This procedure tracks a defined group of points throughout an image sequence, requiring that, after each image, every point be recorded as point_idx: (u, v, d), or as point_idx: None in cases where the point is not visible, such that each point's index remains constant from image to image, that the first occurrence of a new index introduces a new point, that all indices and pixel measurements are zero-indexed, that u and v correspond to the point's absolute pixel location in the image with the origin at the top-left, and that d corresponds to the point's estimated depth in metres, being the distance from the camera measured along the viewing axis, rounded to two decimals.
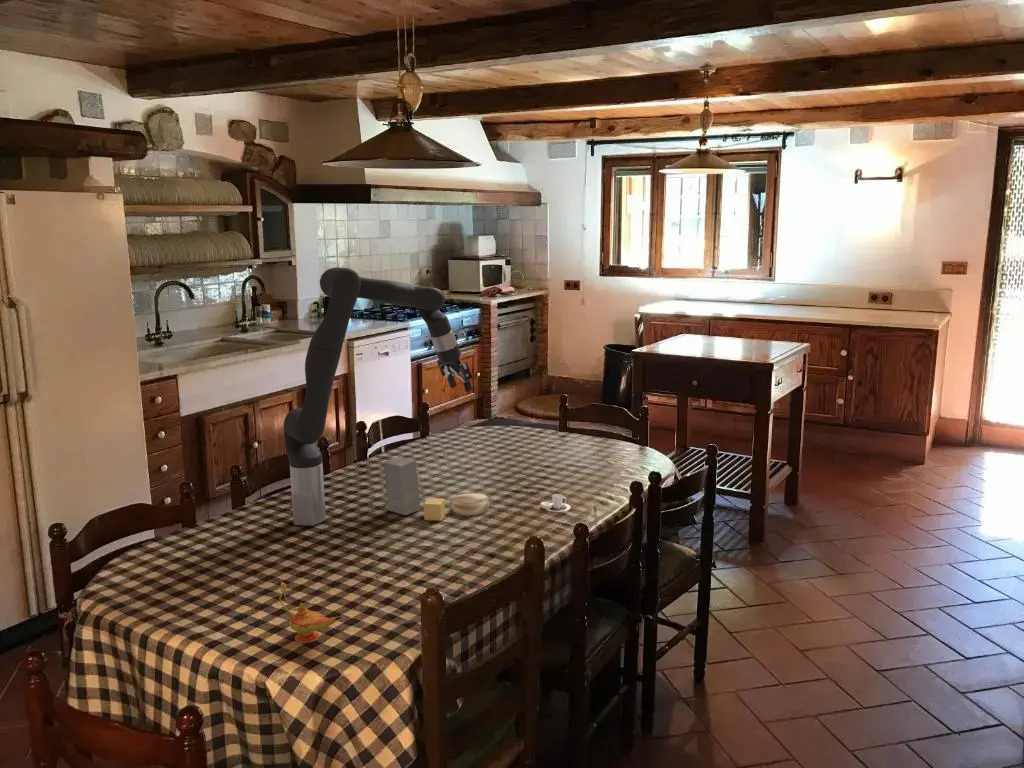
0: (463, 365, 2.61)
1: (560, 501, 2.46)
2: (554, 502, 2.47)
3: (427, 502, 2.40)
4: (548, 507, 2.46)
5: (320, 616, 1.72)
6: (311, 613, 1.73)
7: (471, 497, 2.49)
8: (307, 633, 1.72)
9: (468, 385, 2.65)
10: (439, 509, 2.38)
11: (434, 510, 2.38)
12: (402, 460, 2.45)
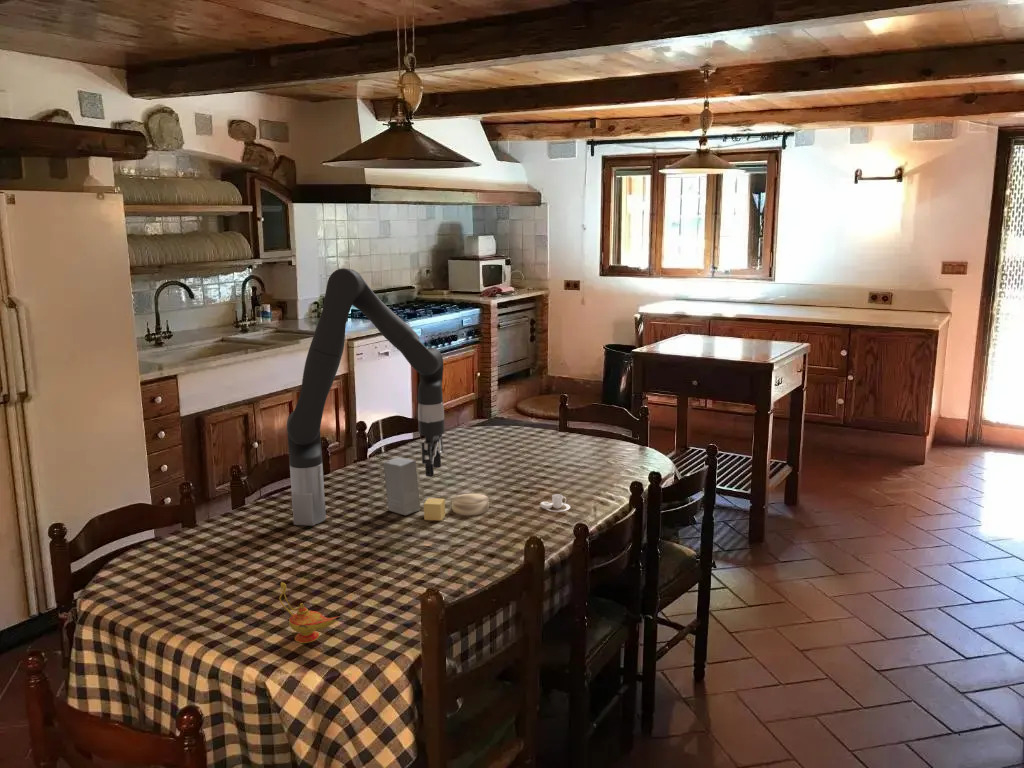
0: (424, 445, 2.31)
1: (560, 501, 2.47)
2: (554, 502, 2.47)
3: (427, 502, 2.40)
4: (548, 507, 2.46)
5: (320, 616, 1.72)
6: (311, 613, 1.73)
7: (471, 497, 2.49)
8: (307, 633, 1.72)
9: (427, 469, 2.33)
10: (439, 509, 2.38)
11: (434, 510, 2.38)
12: (402, 460, 2.45)
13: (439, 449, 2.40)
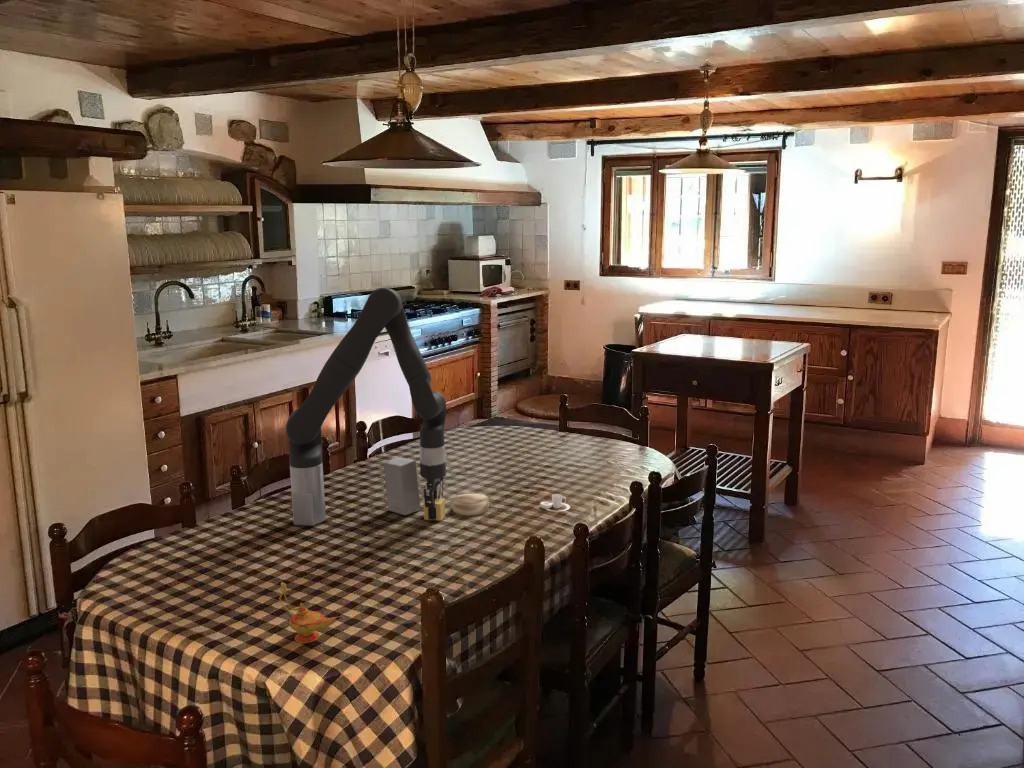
0: (426, 491, 2.33)
1: (560, 501, 2.47)
2: (554, 502, 2.47)
3: None
4: (548, 507, 2.47)
5: (320, 616, 1.72)
6: (311, 613, 1.73)
7: (471, 497, 2.49)
8: (307, 633, 1.72)
9: (430, 512, 2.37)
10: (439, 509, 2.38)
11: None
12: (402, 460, 2.45)
13: (440, 493, 2.42)
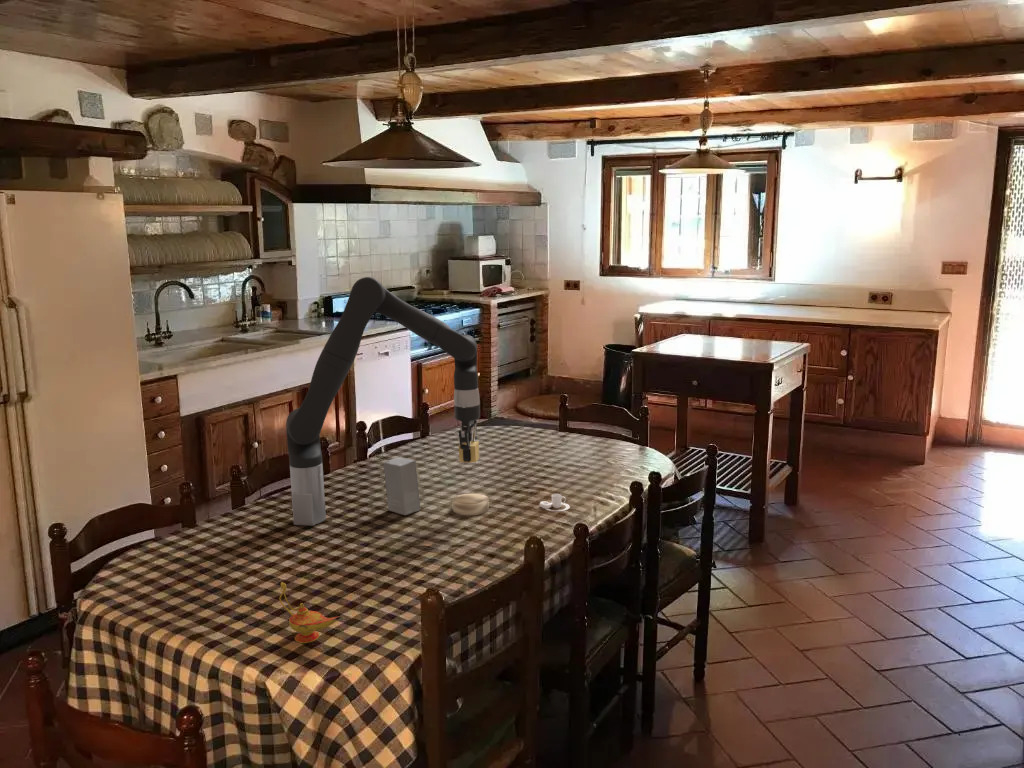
0: (461, 433, 2.36)
1: (559, 501, 2.47)
2: (553, 502, 2.47)
3: None
4: (547, 507, 2.47)
5: (320, 616, 1.72)
6: (311, 613, 1.73)
7: (471, 497, 2.49)
8: (307, 633, 1.72)
9: (465, 454, 2.40)
10: (473, 451, 2.41)
11: None
12: (402, 460, 2.45)
13: (474, 436, 2.45)
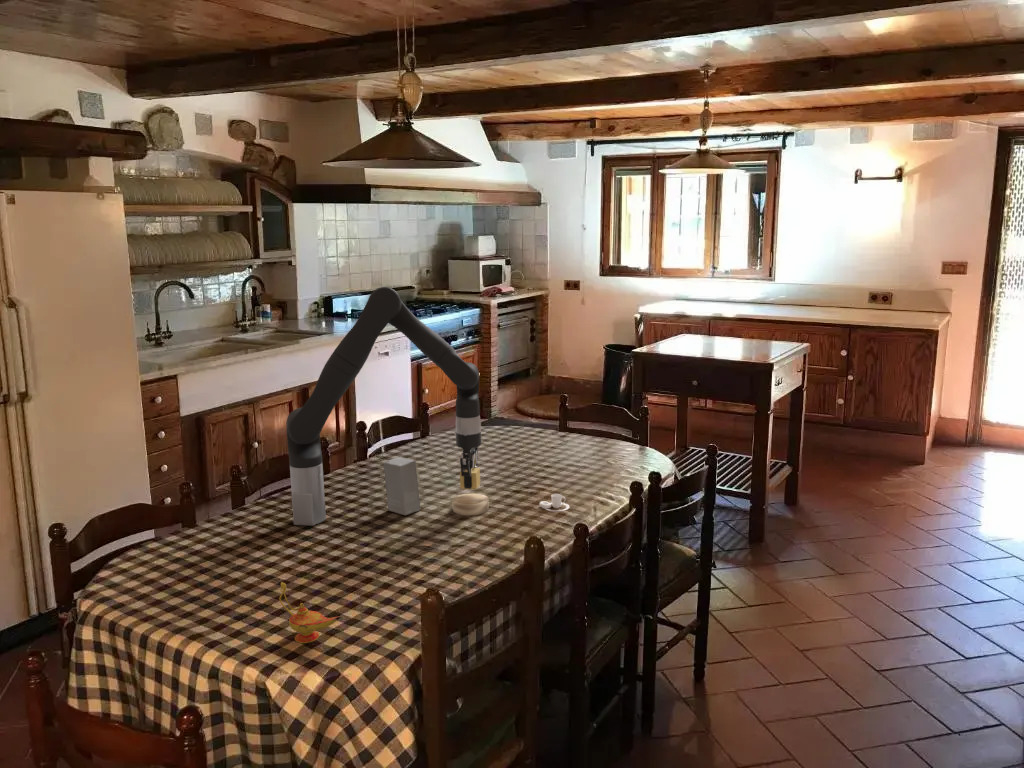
0: (463, 460, 2.38)
1: (559, 501, 2.47)
2: (553, 502, 2.47)
3: None
4: (547, 506, 2.47)
5: (320, 616, 1.72)
6: (311, 613, 1.73)
7: (471, 497, 2.49)
8: (307, 633, 1.72)
9: (466, 481, 2.42)
10: (474, 478, 2.43)
11: None
12: (402, 460, 2.45)
13: (475, 462, 2.47)
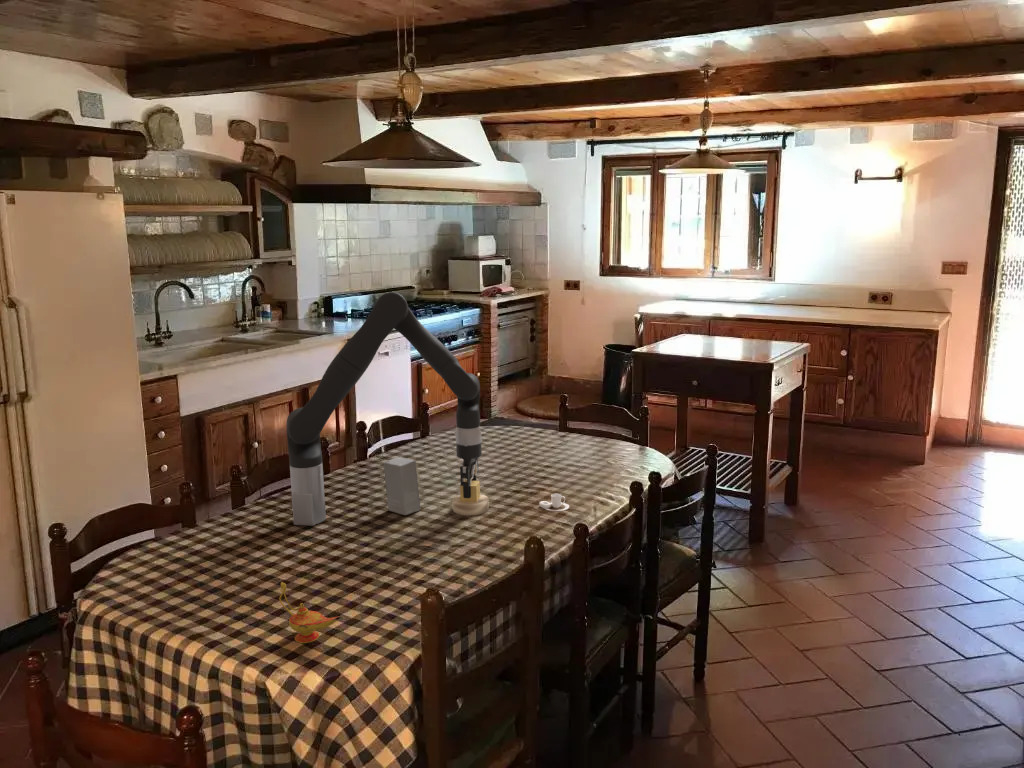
0: (463, 468, 2.38)
1: (559, 500, 2.47)
2: (553, 501, 2.47)
3: None
4: (547, 506, 2.47)
5: (320, 616, 1.72)
6: (311, 613, 1.73)
7: None
8: (307, 633, 1.72)
9: (465, 491, 2.42)
10: (474, 491, 2.44)
11: None
12: (402, 460, 2.45)
13: (475, 471, 2.48)
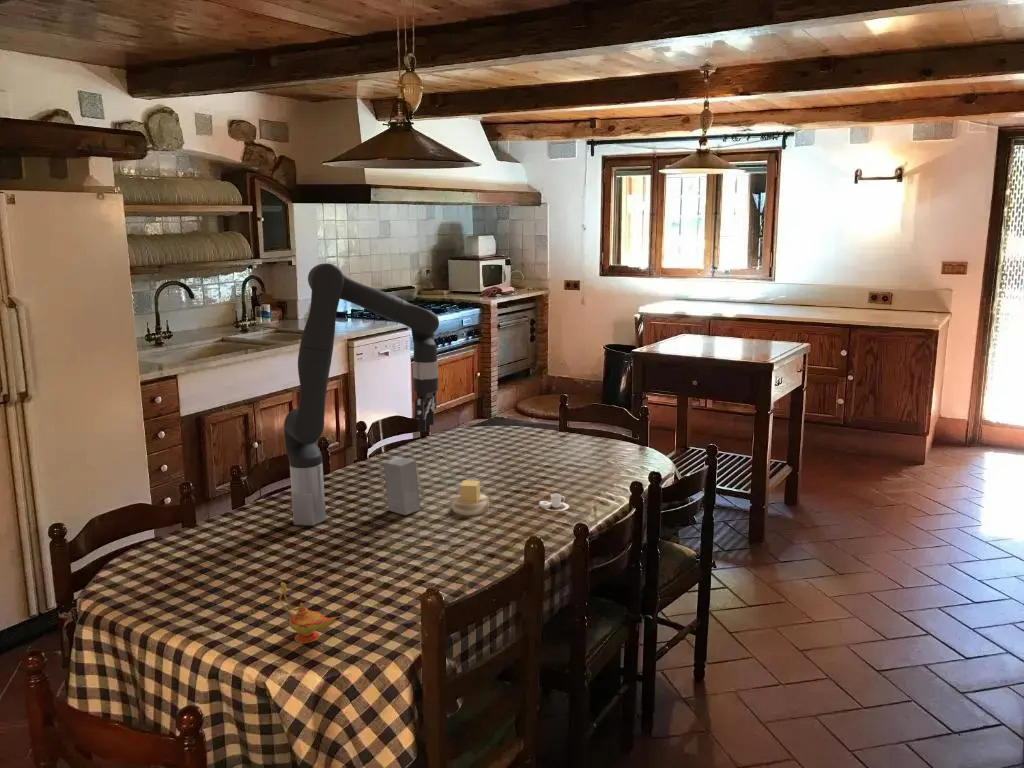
0: (418, 400, 2.42)
1: (558, 500, 2.47)
2: (552, 501, 2.47)
3: (463, 484, 2.45)
4: (546, 506, 2.47)
5: (320, 616, 1.72)
6: (311, 613, 1.73)
7: None
8: (307, 633, 1.72)
9: (420, 424, 2.45)
10: (474, 491, 2.44)
11: (470, 492, 2.44)
12: (402, 460, 2.45)
13: (432, 407, 2.52)
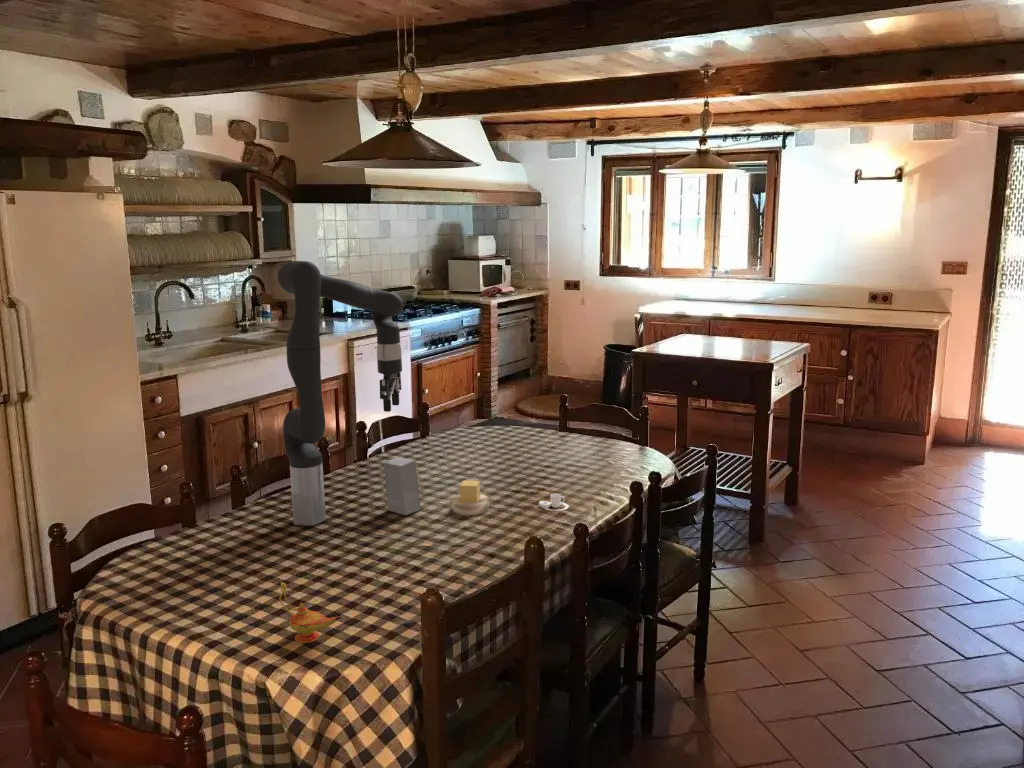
0: (382, 381, 2.49)
1: (558, 500, 2.47)
2: (552, 501, 2.48)
3: (463, 484, 2.45)
4: (546, 506, 2.47)
5: (320, 616, 1.72)
6: (311, 613, 1.73)
7: None
8: (307, 633, 1.72)
9: (385, 404, 2.52)
10: (474, 491, 2.44)
11: (470, 492, 2.44)
12: (402, 460, 2.45)
13: (397, 388, 2.59)
